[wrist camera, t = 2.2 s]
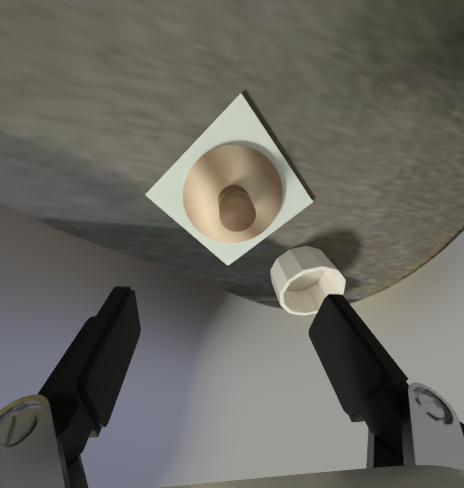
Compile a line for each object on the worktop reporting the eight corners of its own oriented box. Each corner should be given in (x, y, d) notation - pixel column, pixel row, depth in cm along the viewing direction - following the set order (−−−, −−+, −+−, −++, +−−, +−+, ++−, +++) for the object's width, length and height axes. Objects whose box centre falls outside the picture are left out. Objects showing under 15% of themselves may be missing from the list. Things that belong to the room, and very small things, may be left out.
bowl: (309, 235, 31) (326, 255, 26) (336, 270, 36) (354, 292, 31) (259, 270, 34) (267, 293, 29) (289, 298, 38) (300, 323, 34)
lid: (238, 117, 22) (246, 114, 17) (298, 200, 27) (317, 217, 22) (162, 195, 25) (150, 213, 20) (228, 255, 31) (232, 279, 26)
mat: (240, 93, 21) (241, 92, 20) (311, 200, 28) (313, 201, 28) (146, 193, 26) (145, 194, 25) (227, 263, 33) (227, 265, 32)
